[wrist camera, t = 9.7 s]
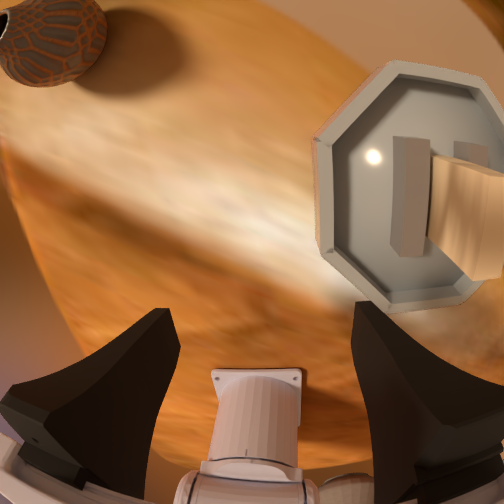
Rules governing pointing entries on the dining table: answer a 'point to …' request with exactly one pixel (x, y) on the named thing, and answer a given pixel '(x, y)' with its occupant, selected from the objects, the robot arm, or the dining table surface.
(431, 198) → the pine wood chunk
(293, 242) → the dining table surface
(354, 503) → the coffee pot
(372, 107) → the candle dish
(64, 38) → the vase
